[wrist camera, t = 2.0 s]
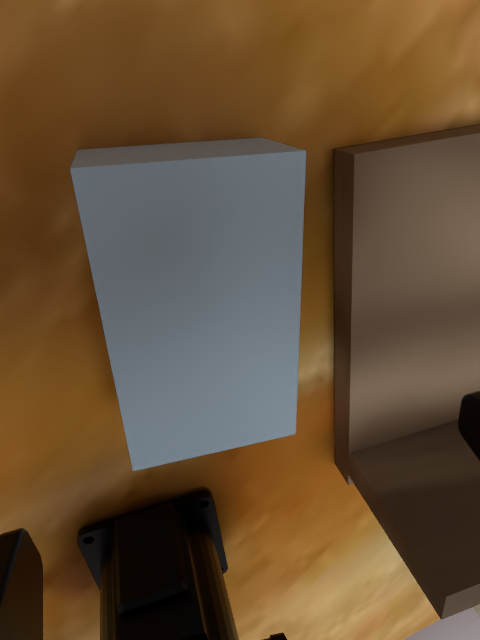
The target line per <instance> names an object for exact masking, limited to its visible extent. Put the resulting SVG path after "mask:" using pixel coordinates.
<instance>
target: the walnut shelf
mask: <svg viewBox="0 0 480 640" xmlns="http://www.w3.org/2000/svg"><path fill="white" fill-rule="evenodd" d="M334 364H335V465H336V466H337V468H338V469H339V471H340V473H341V474H342V476H343V477H344V479H345V481H346V482H347V484H348V485H350V484H353V483H354V484H355V486H356V487H357V489H358V490H359V492H360V494H361V495H362V497H363V498H364V500H365V501H366V503H367V505H368V506H369V508H370V509H371V511H372V512H373V514H374V515H375V517H376V519H377V520H378V522H379V523H380V525H381V526H382V528H383V529H384V531H385V533H386V534H387V536H388V537H389V539H390V540H391V542H392V544H393V545H394V547H395V548H396V550H397V551H398V553H399V554H400V556H401V558H402V559H403V561H404V562H405V564H406V565H407V567H408V569H409V570H410V572H411V573H412V575H413V576H414V578H415V579H416V581H417V583H418V584H419V586H420V587H421V589H422V590H423V592H424V593H425V595H426V597H427V598H428V600H429V601H430V603H431V604H432V606H433V608H434V609H435V611H436V612H437V614H438V615H439V617H440V618H441V620H442V619H444V618H446V617H449V616H451V615H454V614H456V613H459V612H461V611H464V610H466V609H469V608H471V607H474V606H476V605H479V604H480V462H479V460H478V459H477V457H476V456H475V454H474V453H473V452H472V450H471V449H470V447H469V446H468V444H467V443H466V442H465V440H464V439H463V437H462V436H461V434H460V432H459V430H458V425H457V422H458V416H459V410H460V405H461V400H462V398H463V396H464V395H466V394H470V393H473V392H476V391H480V125H474V126H468V127H462V128H456V129H450V130H444V131H438V132H432V133H426V134H420V135H415V136H409V137H403V138H397V139H391V140H385V141H379V142H373V143H367V144H361V145H355V146H349V147H343V148H337V149H334Z"/></svg>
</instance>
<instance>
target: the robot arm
mask: <svg viewBox="0 0 480 640" xmlns="http://www.w3.org/2000/svg"><path fill="white" fill-rule="evenodd" d="M457 425H458V430H459V432H460V434H461V436H462V437H463V439H464V440H465V442H466V443H467V444H468V446H469V447H470V449H471V450H472V452H473V453H474V454H475V456H476V457H477V459H478V460H479V462H480V391H476V392H473V393H470V394H466V395H464V396H463V398H462V400H461V405H460V410H459V416H458V422H457ZM77 543H78V546H79V548H80V550H81V552H82V554H83V556H84V558H85V560H86V563H87V565H88V567H89V569H90V571H91V573H92V575H93V577H94V579H95V581H96V584H97V586H98V588H99V590H100V640H239V638H238V634H237V630H236V626H235V622H234V618H233V614H232V610H231V606H230V602H229V598H228V594H227V590H226V586H225V582H224V578H223V574H224V573H225V572H226V571H227V569H228V566H227V561H226V557H225V552H224V547H223V542H222V538H221V533H220V528H219V523H218V519H217V514H216V509H215V504H214V500H213V496H212V494H211V492H209V491H206V490H204V491H199V492H196V493H192V494H189V495H186V496H183V497H179V498H176V499H173V500H170V501H166V502H163V503H160V504H157V505H153V506H150V507H147V508H143V509H140V510H137V511H134V512H130V513H127V514H124V515H121V516H117V517H114V518H111V519H108V520H104V521H101V522H98V523H94V524H91V525H88V526H85V527H83V528H81V529H80V530H79V531H78V535H77ZM0 640H43V566H42V559H41V556H40V554H39V552H38V550H37V548H36V546H35V544H34V543H33V541H32V539H31V537H30V535H29V533H28V532H27V531H26V530H25V529H23V528H19V529H16V530H13V531H9V532H6V533H3V534H1V535H0ZM263 640H287V639H286V637H285V635H284V633H278V634H273V635H270V638H267V639H263Z"/></svg>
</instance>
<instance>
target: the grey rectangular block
mask: <svg viewBox="0 0 480 640" xmlns="http://www.w3.org/2000/svg"><path fill="white" fill-rule="evenodd" d="M70 171H71V176H72V181H73V186H74V191H75V195H76V200H77V205H78V210H79V214H80V219H81V224H82V229H83V234H84V238H85V243H86V248H87V253H88V258H89V262H90V267H91V272H92V277H93V282H94V286H95V291H96V296H97V301H98V306H99V310H100V315H101V320H102V325H103V329H104V334H105V339H106V344H107V349H108V353H109V358H110V363H111V368H112V373H113V377H114V382H115V387H116V392H117V397H118V401H119V406H120V411H121V416H122V420H123V425H124V430H125V435H126V440H127V444H128V449H129V454H130V459H131V464H132V468H133V471H137V470H141V469H146V468H150V467H154V466H159V465H163V464H167V463H172V462H176V461H181V460H185V459H189V458H194V457H198V456H202V455H207V454H211V453H215V452H220V451H224V450H229V449H233V448H237V447H242V446H246V445H250V444H255V443H259V442H263V441H268V440H272V439H277V438H281V437H285V436H290V435H294V434H296V413H297V386H298V359H299V332H300V306H301V279H302V252H303V225H304V198H305V171H306V150H302V149H299V148H296V147H292V146H289V145H286V144H283V143H279V142H276V141H273V140H269V139H266V138H263V137H261V138H246V139H231V140H216V141H201V142H186V143H170V144H155V145H140V146H125V147H110V148H95V149H80V150H77V152H76V154H75V157H74V159H73V162H72V164H71V167H70Z"/></svg>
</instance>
